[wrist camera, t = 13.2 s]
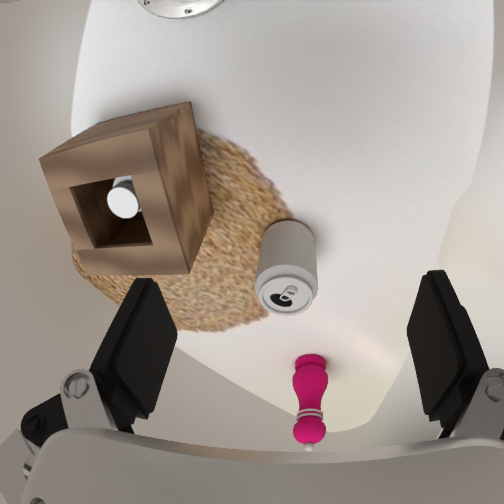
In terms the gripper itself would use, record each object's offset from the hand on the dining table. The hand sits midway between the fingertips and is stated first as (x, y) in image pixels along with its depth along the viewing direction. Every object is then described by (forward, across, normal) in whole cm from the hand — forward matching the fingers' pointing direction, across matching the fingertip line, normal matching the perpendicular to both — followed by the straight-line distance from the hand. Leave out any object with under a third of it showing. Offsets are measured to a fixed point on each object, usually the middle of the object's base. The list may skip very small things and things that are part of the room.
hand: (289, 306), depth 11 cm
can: (+31, +2, +18) cm, 35 cm away
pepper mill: (+31, -2, +49) cm, 58 cm away
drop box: (+30, +19, +5) cm, 36 cm away
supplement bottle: (+30, +19, +5) cm, 36 cm away
